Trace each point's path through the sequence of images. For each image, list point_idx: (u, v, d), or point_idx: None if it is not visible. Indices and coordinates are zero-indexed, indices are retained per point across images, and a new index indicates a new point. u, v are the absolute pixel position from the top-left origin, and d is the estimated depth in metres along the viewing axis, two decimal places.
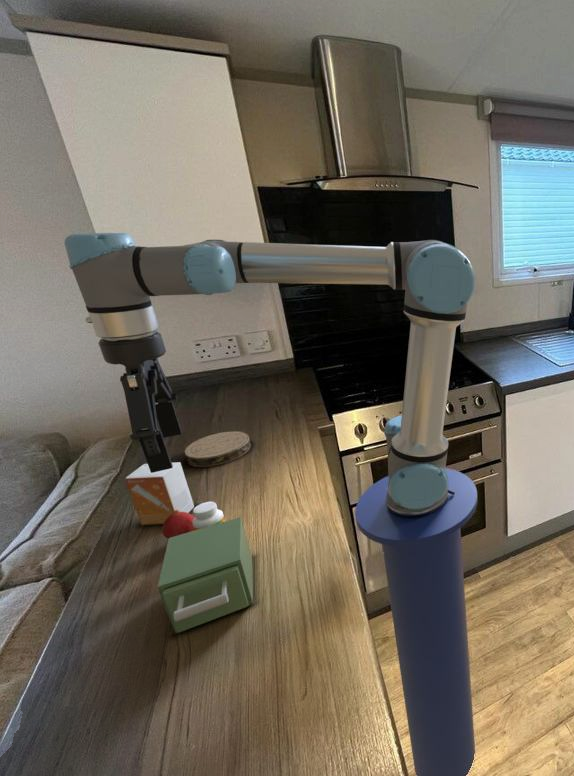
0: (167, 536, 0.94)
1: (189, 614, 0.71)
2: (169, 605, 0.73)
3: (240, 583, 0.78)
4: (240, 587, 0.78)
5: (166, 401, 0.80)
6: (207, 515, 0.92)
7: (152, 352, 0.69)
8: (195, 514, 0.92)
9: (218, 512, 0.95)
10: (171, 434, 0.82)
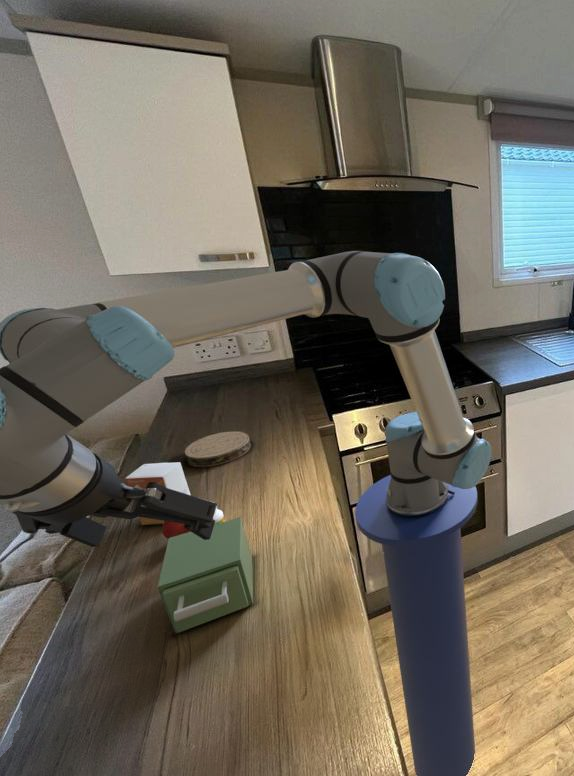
0: (167, 536, 0.94)
1: (189, 614, 0.71)
2: (169, 605, 0.73)
3: (240, 583, 0.78)
4: (240, 587, 0.78)
5: None
6: None
7: (110, 465, 0.50)
8: None
9: (218, 512, 0.95)
10: (100, 536, 0.61)
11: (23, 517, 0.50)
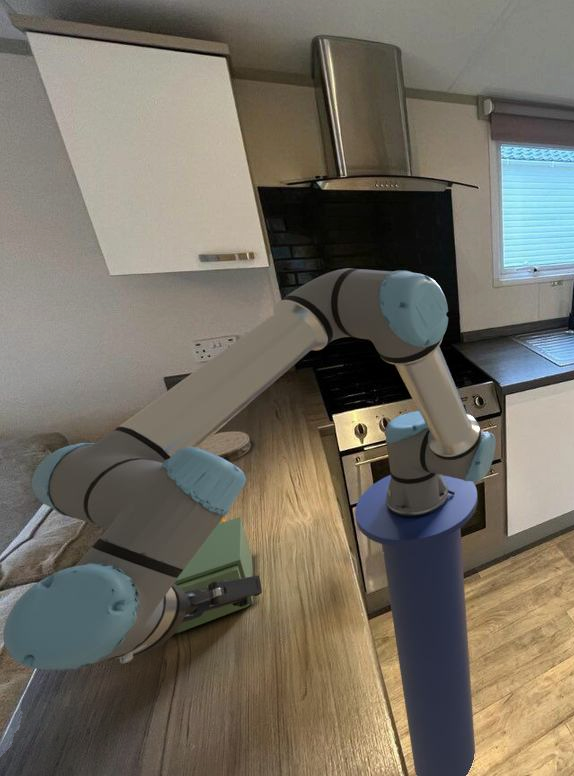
0: None
1: None
2: None
3: None
4: None
5: None
6: None
7: None
8: None
9: None
10: None
11: None
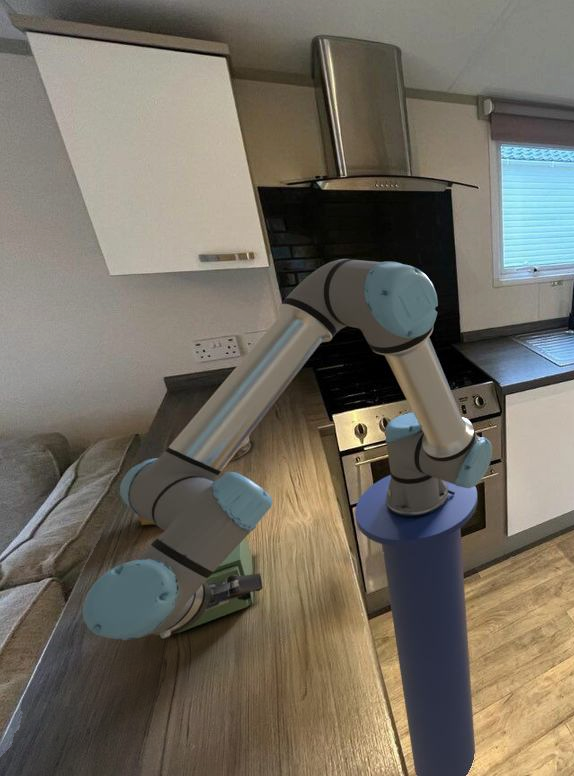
0: None
1: None
2: None
3: None
4: None
5: None
6: None
7: None
8: None
9: None
10: None
11: None
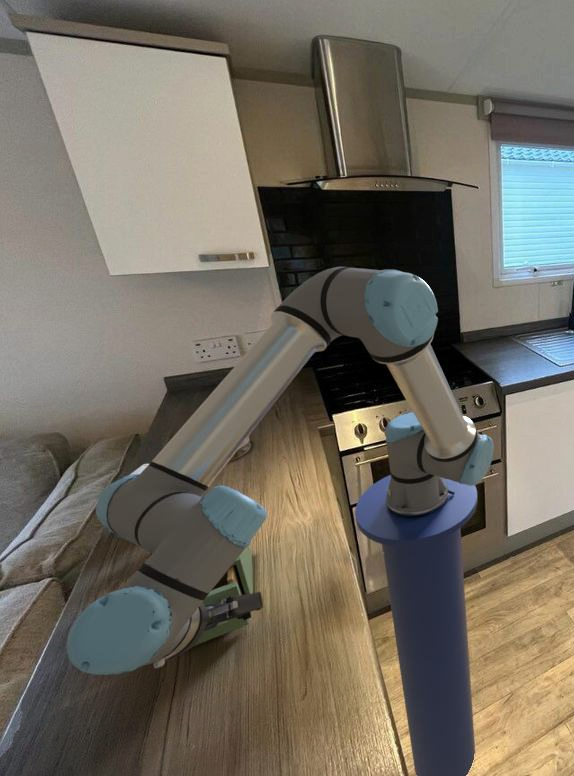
0: None
1: None
2: None
3: None
4: None
5: None
6: None
7: None
8: None
9: None
10: None
11: None
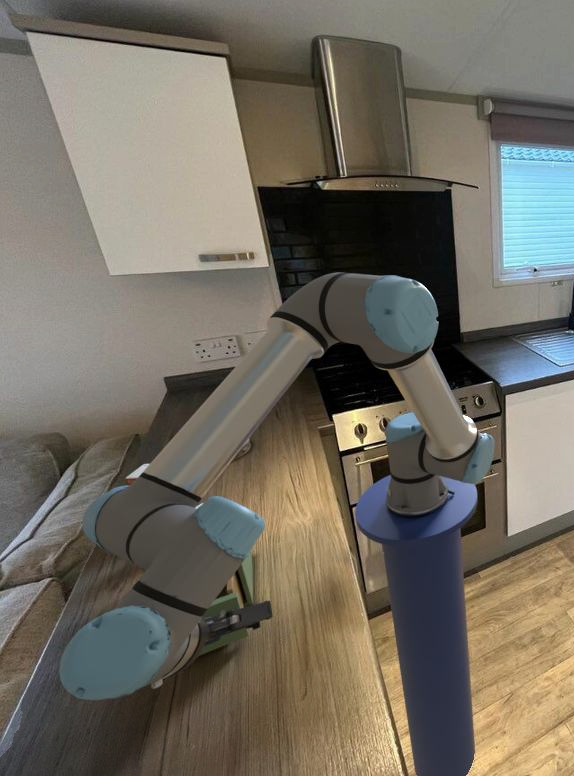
0: None
1: None
2: None
3: None
4: None
5: None
6: None
7: None
8: None
9: None
10: None
11: None
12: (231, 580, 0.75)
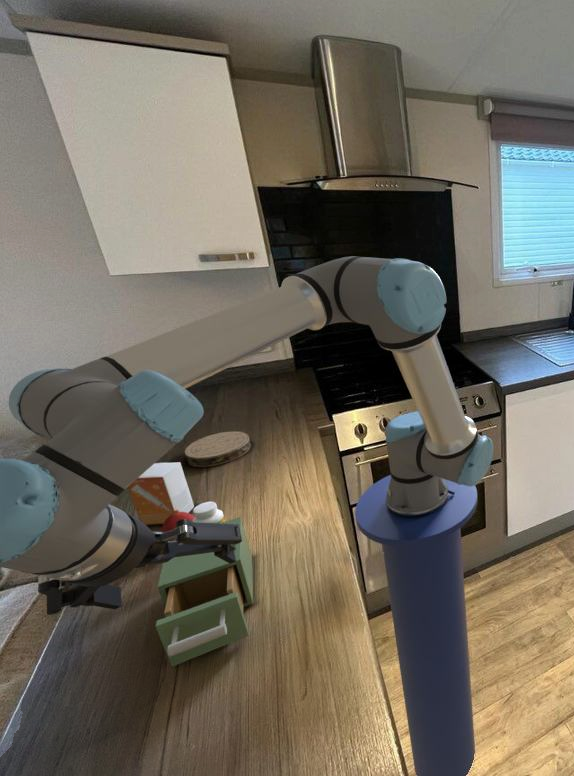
0: None
1: (184, 649, 0.65)
2: (163, 637, 0.68)
3: (240, 611, 0.73)
4: (240, 615, 0.73)
5: None
6: (207, 515, 0.92)
7: None
8: (195, 514, 0.92)
9: (218, 512, 0.95)
10: (119, 597, 0.60)
11: (53, 596, 0.49)
12: (231, 580, 0.75)
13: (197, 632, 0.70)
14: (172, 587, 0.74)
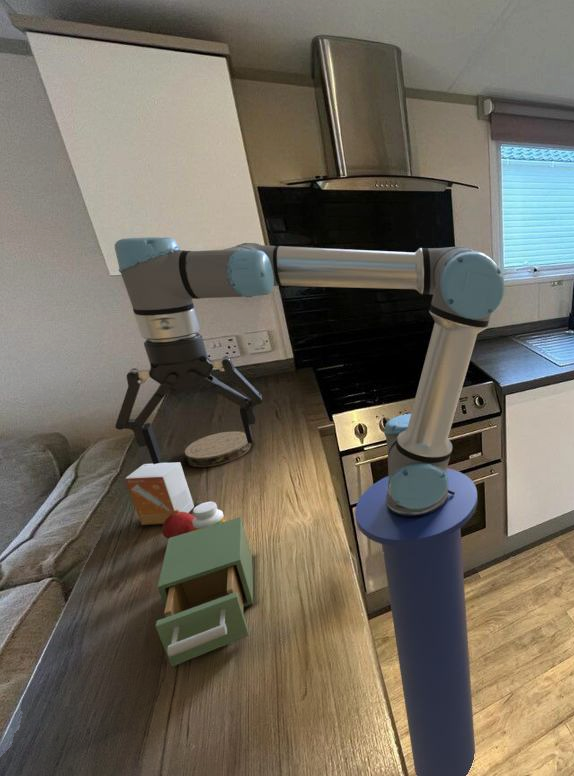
0: (167, 536, 0.94)
1: (184, 649, 0.65)
2: (163, 637, 0.68)
3: (240, 611, 0.73)
4: (240, 615, 0.73)
5: (143, 424, 0.73)
6: (207, 515, 0.92)
7: None
8: (195, 514, 0.92)
9: (218, 512, 0.95)
10: (159, 458, 0.75)
11: (130, 392, 0.70)
12: (231, 580, 0.75)
13: (197, 632, 0.70)
14: (172, 587, 0.74)
